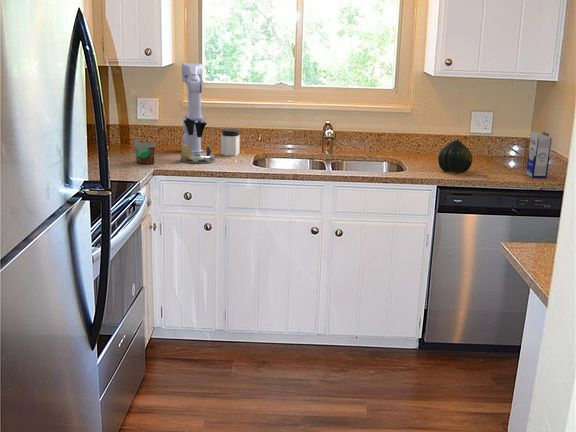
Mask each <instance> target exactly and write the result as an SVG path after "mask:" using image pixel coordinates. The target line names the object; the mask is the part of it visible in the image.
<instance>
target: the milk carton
mask: <svg viewBox="0 0 576 432" xmlns="http://www.w3.org/2000/svg"><path fill="white" fill-rule="evenodd" d="M529 140H530V142H529V148H528V157H527V164H526V171H525V175H526V176H527V177H530V178H532V179H547V178H548V172H549V165H550V157H551V150H552V143H553V137H551V136H550V133H548V132H545V131H542V133H539V132H537V131H533V130H531V134H530V139H529Z"/></svg>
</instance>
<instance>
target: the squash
mask: <svg viewBox="0 0 576 432" xmlns="http://www.w3.org/2000/svg"><path fill="white" fill-rule="evenodd" d="M437 162H438V166H439V168H440V169H441V170H442V171H443V172H451V171H452V172H454V173H455V174H457V175H459V174H461V173H463V174H464V173H466V172H467V171H468V170H470V168H471V166H472V163H473V154H472V152H471V151H470V149H469V148H468V147H467V146H466V145H465V144H463V142H462V141H461V140H459V139H456V140H453V141H451V142H450V143H448V144H446V145H445V146H444V147H443V148H441V150H440V152H439V154H438V158H437Z"/></svg>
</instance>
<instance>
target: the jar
mask: <svg viewBox="0 0 576 432" xmlns="http://www.w3.org/2000/svg"><path fill="white" fill-rule="evenodd" d="M221 131H222V132H221V136H220V141H221V142H220V154H221V156H222V155H223V156H227V157H231V156H232V157H236V156H239V155H240V143H241V142H240V140H241V139H240V137H241V136H240V130H239V129H235V128H224V129H222V130H221Z"/></svg>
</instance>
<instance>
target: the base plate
mask: <svg viewBox="0 0 576 432" xmlns="http://www.w3.org/2000/svg"><path fill="white" fill-rule="evenodd" d="M180 162H182V163H185V164H192V165H203V164H205V163H206V164H212V163H215V162H216V158H215V159H214V160H210V161H207V162H206V161H198V162H193V161H184V160H183V159H181V158H180Z"/></svg>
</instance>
